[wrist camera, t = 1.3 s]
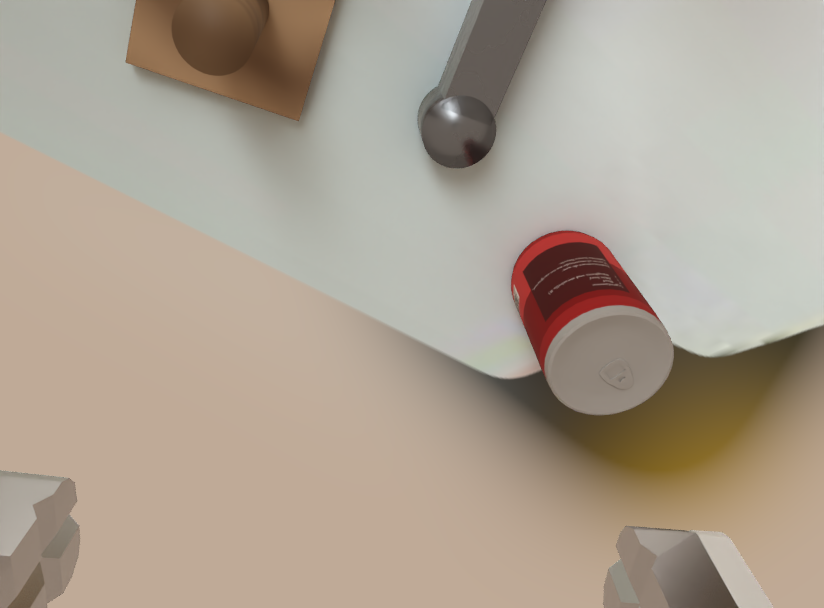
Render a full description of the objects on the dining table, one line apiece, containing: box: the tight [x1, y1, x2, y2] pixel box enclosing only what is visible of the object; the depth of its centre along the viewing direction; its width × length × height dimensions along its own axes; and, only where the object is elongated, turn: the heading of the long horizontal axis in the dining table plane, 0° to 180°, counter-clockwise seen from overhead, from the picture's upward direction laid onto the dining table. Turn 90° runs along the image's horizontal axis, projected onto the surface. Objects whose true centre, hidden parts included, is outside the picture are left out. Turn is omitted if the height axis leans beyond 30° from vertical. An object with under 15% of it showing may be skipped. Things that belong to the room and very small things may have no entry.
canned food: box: [511, 231, 674, 415], centre depth 46 cm, size 8×8×11 cm
